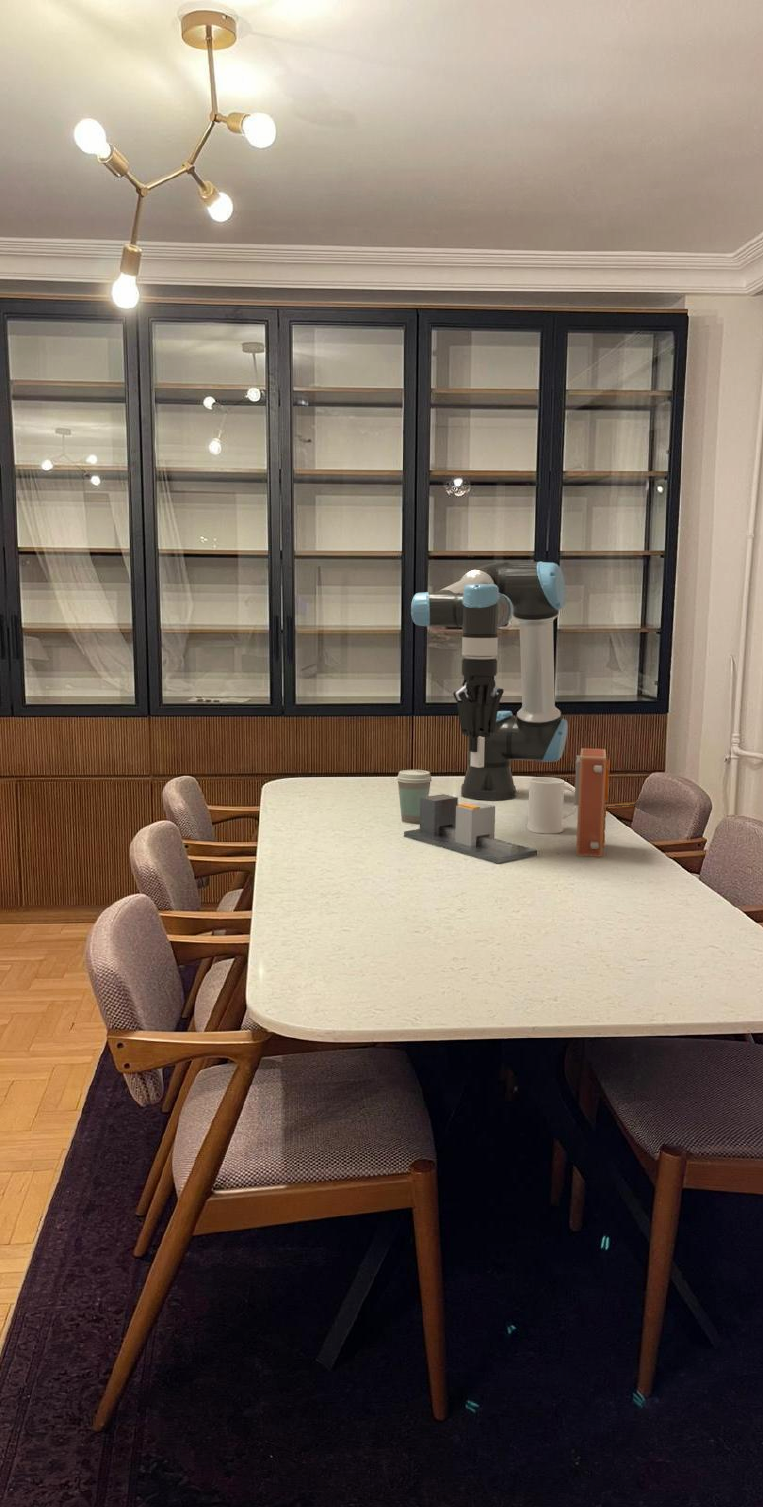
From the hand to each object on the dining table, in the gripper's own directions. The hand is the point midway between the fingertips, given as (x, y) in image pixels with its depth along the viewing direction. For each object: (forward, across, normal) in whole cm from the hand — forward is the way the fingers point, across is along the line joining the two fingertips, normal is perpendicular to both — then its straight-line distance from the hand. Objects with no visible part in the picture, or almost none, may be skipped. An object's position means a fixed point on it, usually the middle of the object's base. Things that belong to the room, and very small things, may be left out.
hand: (477, 766), depth 225 cm
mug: (+19, -26, -2) cm, 32 cm away
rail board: (+18, 0, -2) cm, 18 cm away
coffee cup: (+18, -6, -29) cm, 35 cm away
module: (+17, 0, 0) cm, 17 cm away
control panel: (+18, -18, +16) cm, 31 cm away
